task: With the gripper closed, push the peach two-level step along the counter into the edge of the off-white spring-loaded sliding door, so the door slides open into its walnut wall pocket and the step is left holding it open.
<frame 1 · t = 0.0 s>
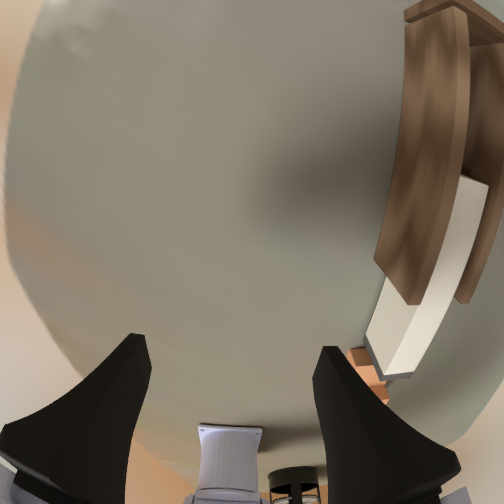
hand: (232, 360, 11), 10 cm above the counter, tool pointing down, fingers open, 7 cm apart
sliding door: (420, 279, 18), point 3 cm above the counter, slide at 0.0 cm
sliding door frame: (372, 344, 24), on the counter
french press: (292, 474, 41), on the counter
peach two-level step: (357, 373, 27), on the counter
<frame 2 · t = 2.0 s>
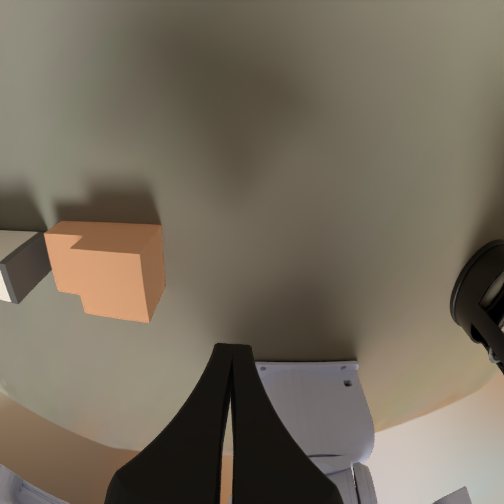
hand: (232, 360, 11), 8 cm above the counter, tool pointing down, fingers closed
french press: (487, 283, 20), on the counter
peach two-level step: (111, 251, 18), on the counter
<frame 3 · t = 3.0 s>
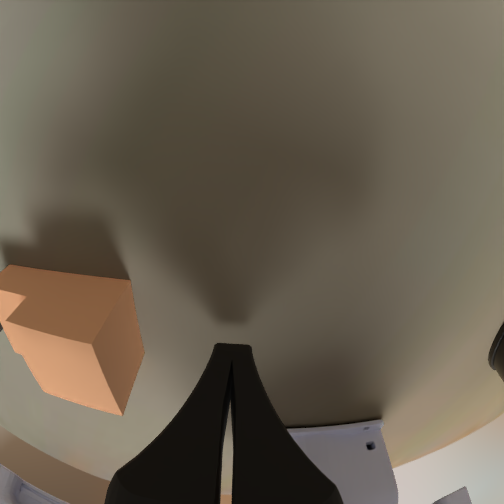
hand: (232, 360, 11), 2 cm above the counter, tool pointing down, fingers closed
peach two-level step: (71, 307, 12), on the counter
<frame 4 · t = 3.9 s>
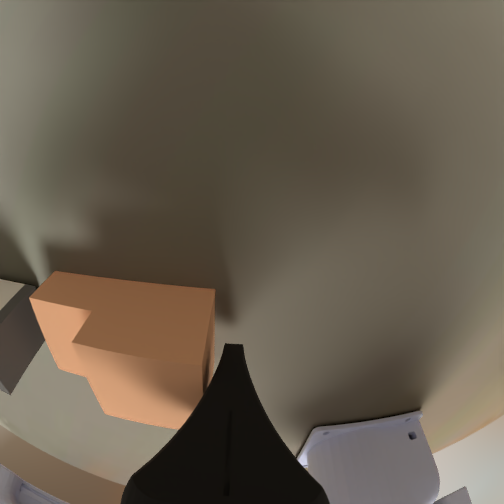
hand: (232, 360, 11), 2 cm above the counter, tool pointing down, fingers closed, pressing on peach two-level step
peach two-level step: (132, 318, 13), on the counter, touching gripper
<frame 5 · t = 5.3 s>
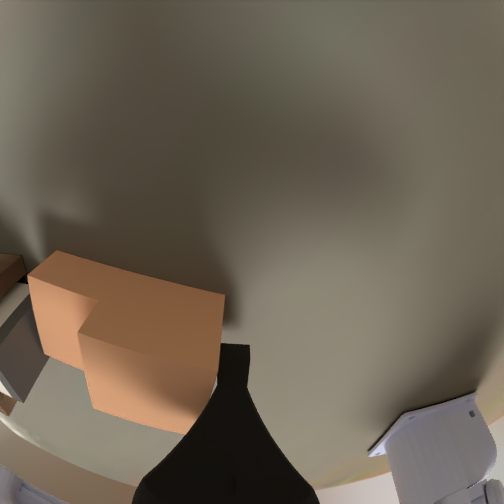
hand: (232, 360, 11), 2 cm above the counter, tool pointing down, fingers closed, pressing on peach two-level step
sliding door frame: (190, 325, 12), on the counter
peach two-level step: (131, 312, 12), on the counter, touching gripper
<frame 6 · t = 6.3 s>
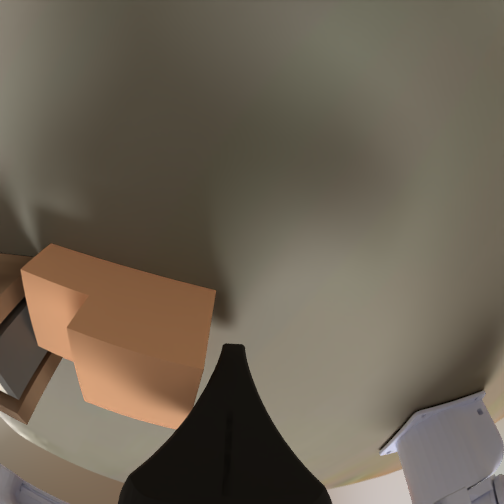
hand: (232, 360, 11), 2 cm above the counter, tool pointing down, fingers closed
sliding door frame: (220, 328, 12), on the counter
peach two-level step: (123, 306, 12), on the counter, touching gripper
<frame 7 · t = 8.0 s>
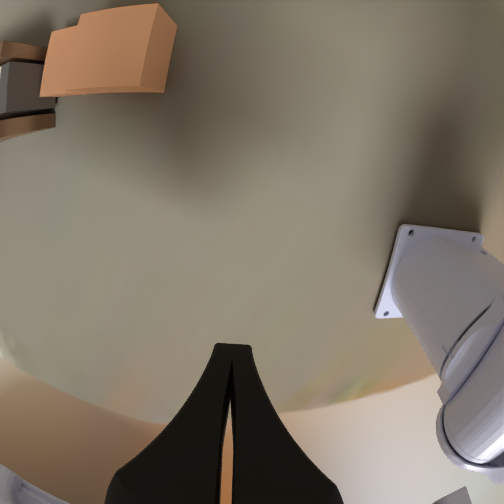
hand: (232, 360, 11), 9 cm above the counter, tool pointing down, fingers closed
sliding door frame: (177, 66, 14), on the counter
peach two-level step: (113, 60, 13), on the counter
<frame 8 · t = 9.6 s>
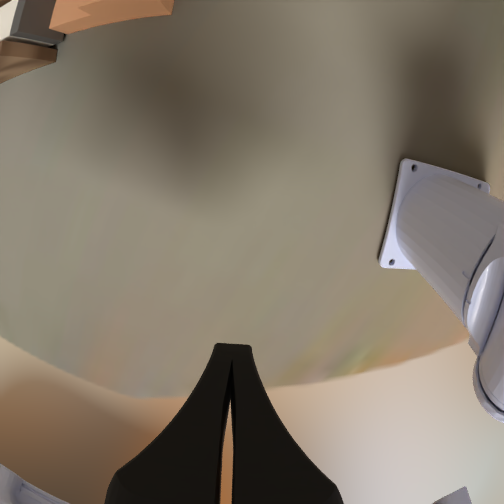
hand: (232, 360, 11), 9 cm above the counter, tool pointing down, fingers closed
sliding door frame: (177, 2, 12), on the counter
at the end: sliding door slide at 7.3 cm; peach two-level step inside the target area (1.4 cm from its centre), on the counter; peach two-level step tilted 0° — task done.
